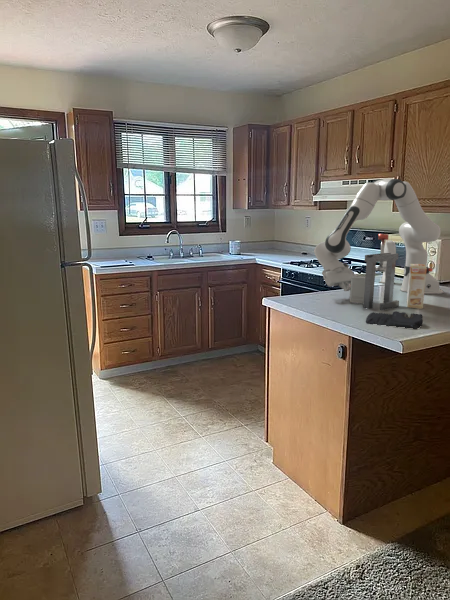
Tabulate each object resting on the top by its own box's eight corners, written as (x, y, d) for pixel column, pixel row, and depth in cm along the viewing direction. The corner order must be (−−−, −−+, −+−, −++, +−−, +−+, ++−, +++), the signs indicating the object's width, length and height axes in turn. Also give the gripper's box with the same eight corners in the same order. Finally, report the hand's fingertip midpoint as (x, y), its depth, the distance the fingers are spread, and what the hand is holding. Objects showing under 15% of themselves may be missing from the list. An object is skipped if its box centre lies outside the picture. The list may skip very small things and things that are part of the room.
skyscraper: (376, 282, 291) (380, 237, 285) (386, 281, 294) (390, 237, 289) (386, 284, 284) (390, 238, 278) (396, 283, 287) (400, 238, 281)
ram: (373, 270, 219) (375, 234, 216) (379, 270, 222) (382, 233, 219) (382, 272, 216) (385, 234, 212) (388, 271, 218) (391, 234, 215)
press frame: (361, 307, 219) (365, 254, 214) (384, 302, 230) (388, 252, 225) (378, 311, 211) (383, 256, 206) (402, 306, 223) (406, 254, 217)
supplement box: (365, 303, 228) (367, 278, 225) (350, 302, 229) (351, 277, 226) (364, 300, 235) (366, 276, 232) (349, 299, 236) (351, 275, 234)
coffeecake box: (423, 309, 217) (427, 267, 213) (406, 307, 219) (410, 267, 215) (421, 302, 231) (425, 264, 227) (406, 301, 233) (409, 263, 229)
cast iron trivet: (369, 316, 203) (370, 306, 202) (423, 322, 194) (424, 311, 193) (363, 324, 189) (364, 313, 188) (421, 331, 180) (422, 319, 179)
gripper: (324, 267, 233) (338, 288, 227) (349, 264, 245) (364, 284, 240) (317, 274, 238) (330, 296, 232) (342, 271, 250) (356, 291, 244)
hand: (348, 290), depth 236 cm, fingers closed
